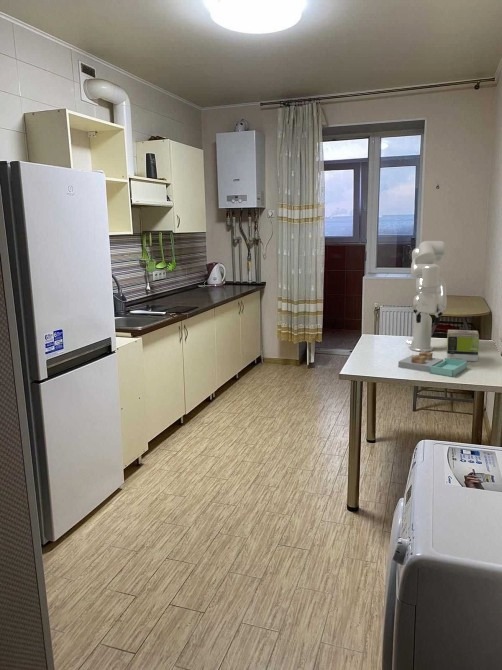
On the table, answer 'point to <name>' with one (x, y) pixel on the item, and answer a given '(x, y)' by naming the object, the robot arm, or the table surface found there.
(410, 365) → the board
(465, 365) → the tray
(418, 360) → the wooden block
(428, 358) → the brown angular block
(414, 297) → the robot arm
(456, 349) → the tea box
